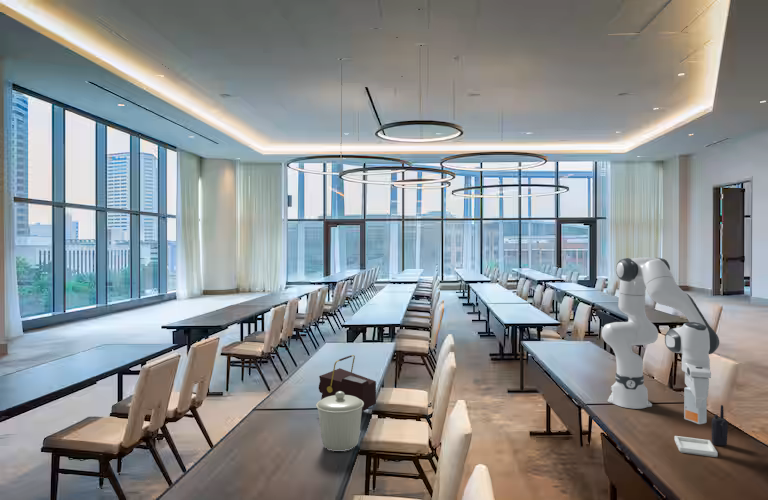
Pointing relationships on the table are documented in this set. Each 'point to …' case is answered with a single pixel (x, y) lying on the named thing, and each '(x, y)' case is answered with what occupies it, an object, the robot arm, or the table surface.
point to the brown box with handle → (348, 385)
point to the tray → (695, 446)
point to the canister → (340, 420)
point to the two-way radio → (719, 429)
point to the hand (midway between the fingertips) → (695, 404)
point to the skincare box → (694, 408)
